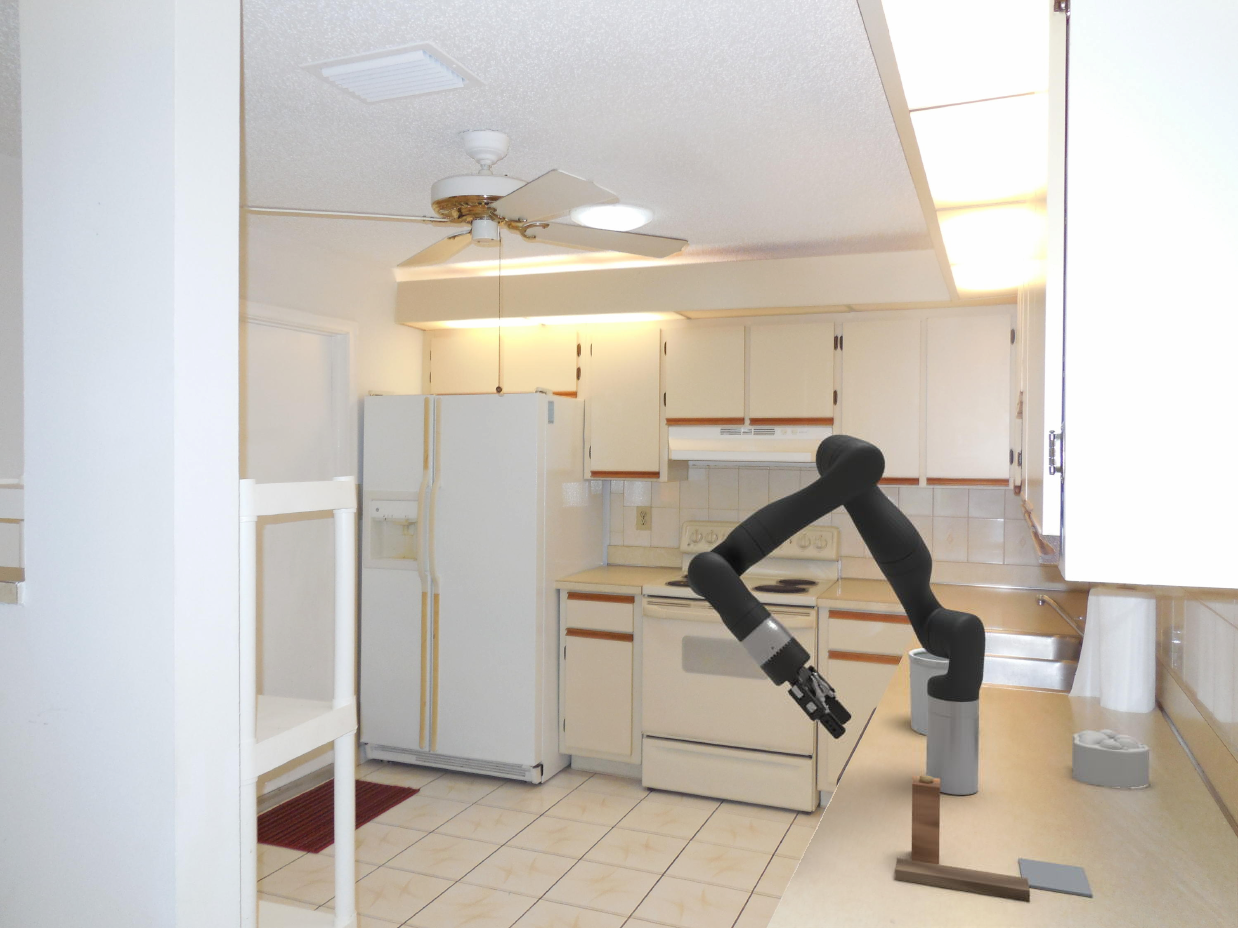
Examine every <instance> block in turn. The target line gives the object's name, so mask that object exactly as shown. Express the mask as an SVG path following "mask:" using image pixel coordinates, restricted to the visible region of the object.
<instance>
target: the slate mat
mask: <svg viewBox="0 0 1238 928" xmlns="http://www.w3.org/2000/svg"><path fill="white" fill-rule="evenodd" d="M1017 861H1018V866H1019V872H1020V877H1023V878H1027V879H1028V884H1029V889H1030V888H1031V889H1037V890H1044V891H1048V892H1056V893H1061V894H1062V893H1063V894H1068V895H1076V896H1081V897H1086V898H1087V897H1089V898H1094V897H1093V896H1094V895H1093V892H1092V891H1093V890H1092V889H1091V885H1090V882H1089V880H1088V879H1089V878H1088V876H1087V874H1086V870H1085V868H1084V867H1082V866H1077V865H1071V864H1070V865H1068V864H1063V863H1056V862H1047V861H1042V860H1037V859H1036V860H1035V859H1030V858H1023V857H1018V859H1017Z"/></svg>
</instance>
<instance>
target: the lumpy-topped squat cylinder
mask: <svg viewBox="0 0 1238 928" xmlns="http://www.w3.org/2000/svg"><path fill="white" fill-rule="evenodd" d="M1071 762H1072V768H1071V769H1072V770H1071V771H1072V773H1073V775H1072V777H1073V778H1072V779H1074V780H1075V781H1077V782H1080V783H1083V784H1086V783H1088V784H1087V785H1091V784H1093V786H1097V785H1102V786H1101V787H1103V786H1109V787H1108V788H1110V787H1120V788H1131V787H1140V786H1144V785H1147V784H1148V783H1149V784H1150V747H1149V746H1147V745H1146V744H1144V743H1143V742H1140V741H1138V740H1137V739H1135V738H1134V737H1133V736H1130V735H1129V734H1118V733H1117V732H1115V731H1114V730H1112V729H1109V728H1108V729H1101V730H1099V731H1095V730H1090V729H1087V730H1082V731H1080V732H1076V733H1074V734H1073V735H1072V761H1071Z"/></svg>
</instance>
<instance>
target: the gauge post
mask: <svg viewBox="0 0 1238 928" xmlns="http://www.w3.org/2000/svg"><path fill="white" fill-rule="evenodd" d="M911 784H912V787H911V789H912V790H911V792H912V793H911V801H912V802H911V859H910V860H913V861H920V862H926V863H933V864H939V865H940V833H941V832H940V829H941V828H940V827H941V826H940V822H941V821H940V820H941V819H940V815H941V813H940V812H941V792H940V779H939V778H933V777H931V776H928V775H926V774H922V775H914V774H913V775H912V783H911Z"/></svg>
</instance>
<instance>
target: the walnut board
mask: <svg viewBox="0 0 1238 928" xmlns="http://www.w3.org/2000/svg"><path fill="white" fill-rule="evenodd" d="M894 870H895V871H894V873H895V874H894V875H895V878H894V880H897V881H903V882H909V883H915V884H920V885H926V886H927V885H928V886H933V887H939V888H946V889H951V890H957V891H958V890H959V891H964V892H971V893H976V894H982V895H987V896H988V895H989V896H995V897H999V898H1001V897H1002V898H1007V899H1012V900H1019V901H1024V902H1030V901H1031V899H1030V897H1031V892H1030V887H1029V884H1028V879H1027V878H1023V877H1021V876H1015V875H1009V874H1003V873H996V872H990V871H983V870H977V869H970V868H964V867H957V866H952V865H944V864H940V863H939V864H933V863H926V862H920V861H913V860H911V859H907V858H899V857H896V863H895V869H894Z"/></svg>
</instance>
